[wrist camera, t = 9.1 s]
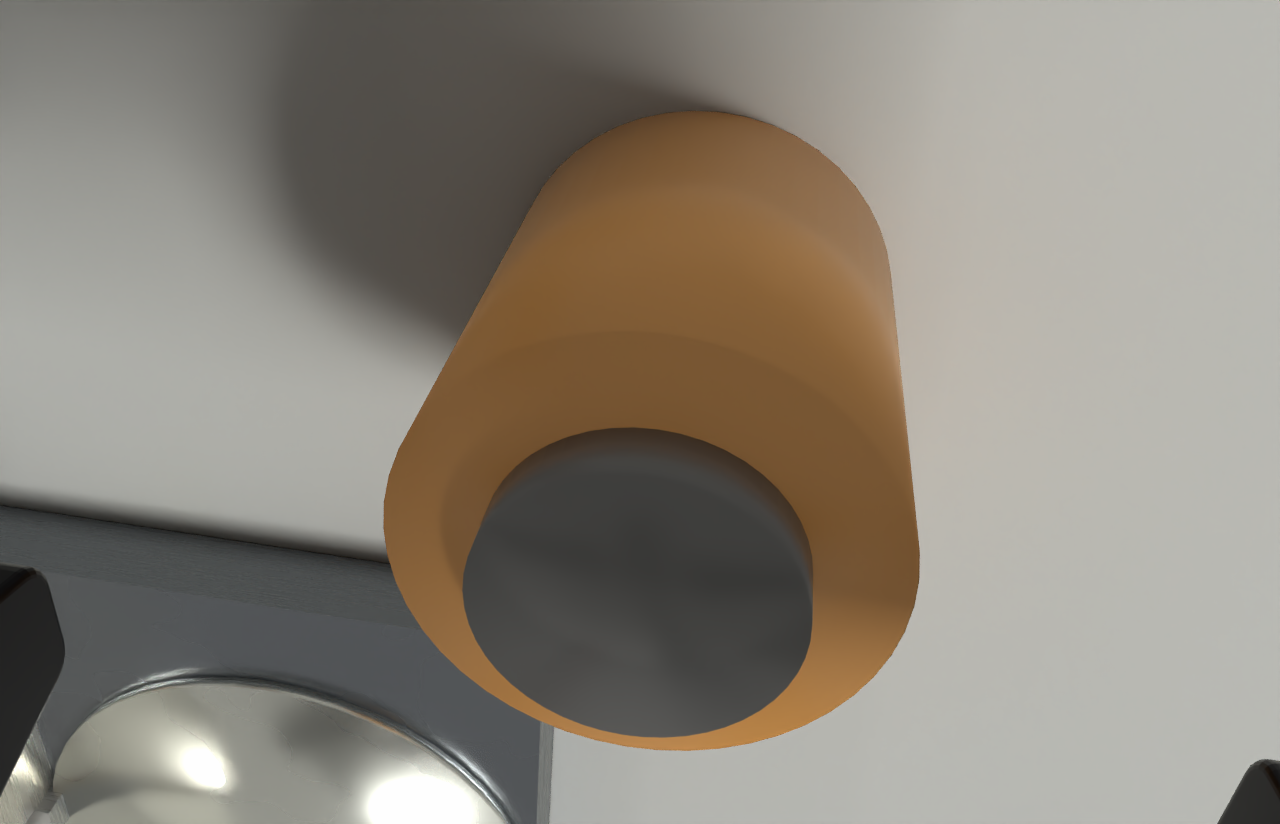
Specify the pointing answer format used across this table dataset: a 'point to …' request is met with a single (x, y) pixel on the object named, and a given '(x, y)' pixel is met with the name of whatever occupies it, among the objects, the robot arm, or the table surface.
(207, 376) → the table surface
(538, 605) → the cap
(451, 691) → the panel
